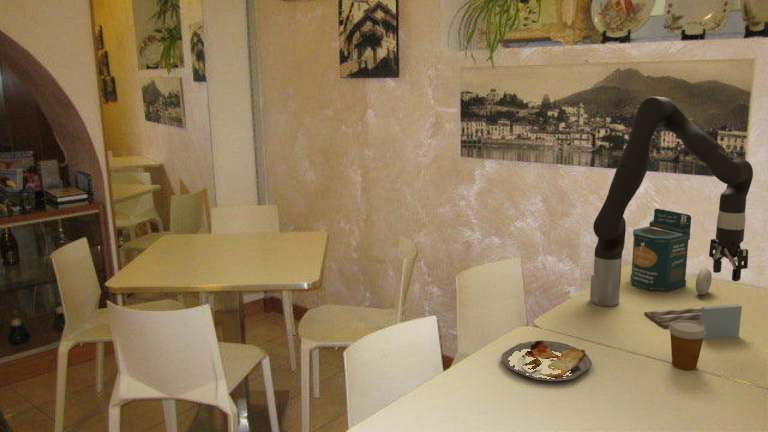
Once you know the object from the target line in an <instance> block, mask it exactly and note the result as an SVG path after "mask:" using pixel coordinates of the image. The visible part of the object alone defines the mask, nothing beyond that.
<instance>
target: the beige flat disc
mask: <svg viewBox="0 0 768 432" xmlns="http://www.w3.org/2000/svg"><path fill="white" fill-rule="evenodd" d="M712 277H713V275H712V271H711V270H710V269H709V268H701V269H700V270H699V271H698V273H697V275H696V279H695V291H696V293H697V294H698V295H700V296H705V295H706V294H708V293H709V291H710V288H711V285H712V280H713V279H712Z"/></svg>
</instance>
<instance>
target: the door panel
mask: <svg viewBox="0 0 768 432" xmlns="http://www.w3.org/2000/svg"><path fill="white" fill-rule="evenodd" d="M701 307H702V313H701V325H703V326H704V327H705V331H706V335H705V336H704V338H703V340H712V339H713V340H714V339H722V338H735V337H739V336H740V328H741V317H742V311H743V310H742V309H743V307H742V305H740V304H739V303H734V304H732V303H731V304H721V305H709V306H707V305H706V306H701Z"/></svg>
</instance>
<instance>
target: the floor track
mask: <svg viewBox="0 0 768 432" xmlns="http://www.w3.org/2000/svg"><path fill="white" fill-rule="evenodd" d="M702 307H703V306H701V307H690V308H678V309H677V308H675V309H665V310H651V311H644V314H643V315H644V316H645V317H647V318H648V319H650V321H653V322H654V323H655V324H657V325H659V326H660V327H661V328H663V329H669V326H670V325H671V323H672V322H673V321H676V320H688V321H694V322H697V323H699V324H701V313H702Z"/></svg>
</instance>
